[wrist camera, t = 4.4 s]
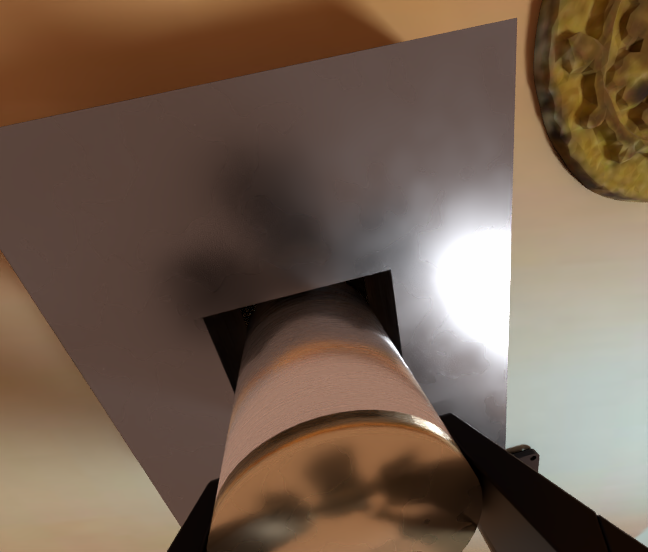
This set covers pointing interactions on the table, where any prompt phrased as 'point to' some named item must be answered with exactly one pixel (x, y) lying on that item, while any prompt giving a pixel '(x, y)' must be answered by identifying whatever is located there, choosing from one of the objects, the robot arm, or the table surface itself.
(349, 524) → the end cover
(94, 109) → the housing
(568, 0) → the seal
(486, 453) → the robot arm
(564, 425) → the table surface
